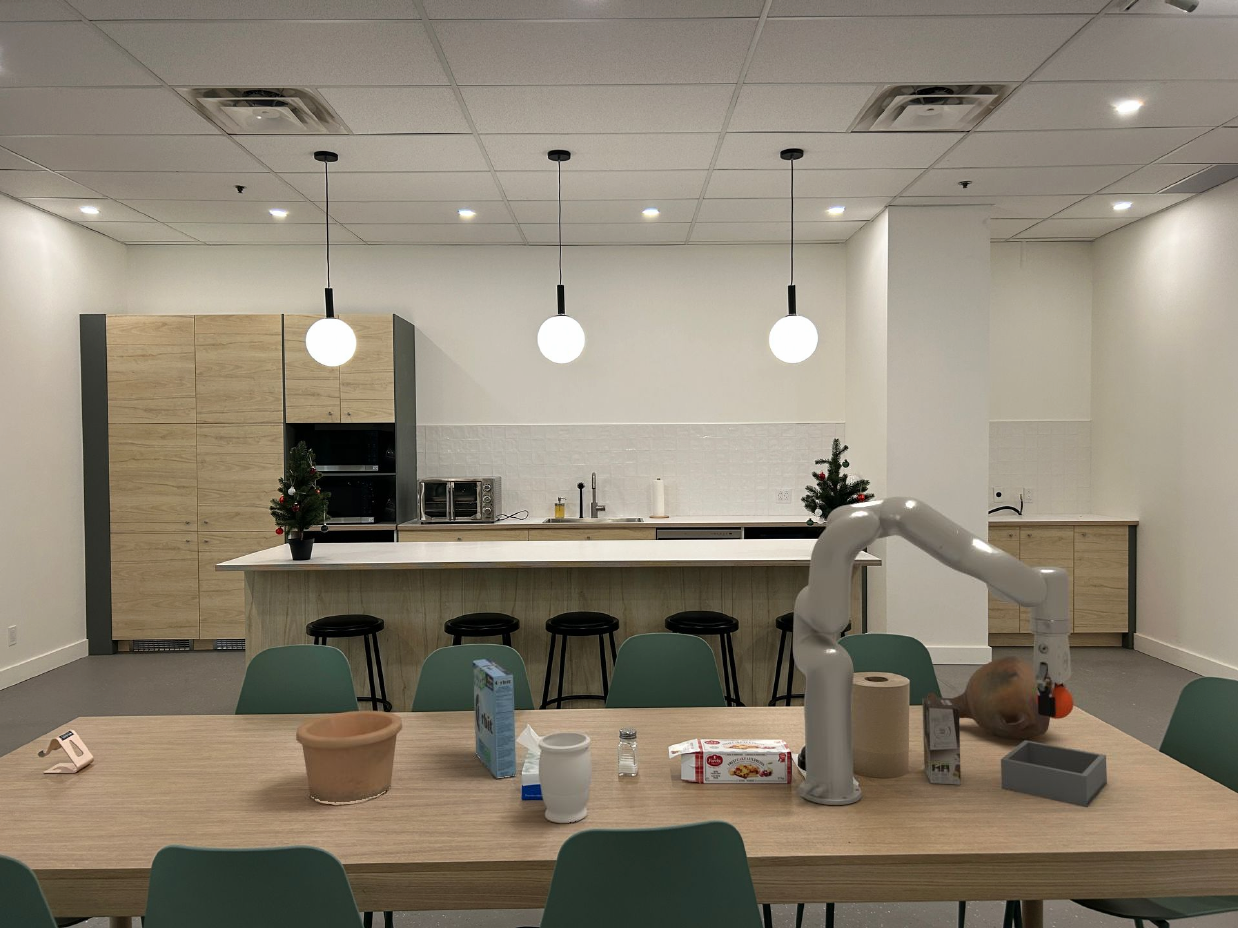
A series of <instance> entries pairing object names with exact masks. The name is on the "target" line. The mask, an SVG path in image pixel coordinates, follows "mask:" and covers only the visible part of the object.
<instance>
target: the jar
mask: <svg viewBox="0 0 1238 928" xmlns="http://www.w3.org/2000/svg"><path fill="white" fill-rule="evenodd" d="M537 742H538V748H539V749H540V754H539V760H538V778H539V779H538V780H539V784H540V790H541V795H542V800H543V803H544V805H545V808H547V809H546V810H545V812H544V817H545V818H546V820H548V821H549V822H552V823H557V824H570V822H571V823H575V821H576V822H579V821H581V820H583V819H585V818H586V817H587V815H588V809H587V807H586V805H587V803H588V799H589V795H590V791H591V790H590V788H591V782H592V769H593V767H592V758H591V753H590V749H589V747H590V745H591V743H592V740H591V737H590V735H587V734H584V733H581V732H573V731H569V732H568V731H565V732H562V731H561V732H554V733H551V734H547V735H544V736H542V737H540V738H539V739H538V741H537Z"/></svg>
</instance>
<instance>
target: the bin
mask: <svg viewBox="0 0 1238 928" xmlns="http://www.w3.org/2000/svg"><path fill="white" fill-rule="evenodd" d="M1000 776H1001V778H1000V779H1001V789H1004V790H1007V791H1008V790H1009V791H1012V792H1016V793H1021V794H1026V795H1030V796H1035V797H1040V798H1045V799H1049V800H1053V801H1057V802H1062V803H1066V804H1070V805H1074V806H1075V805H1076V806H1080V807H1085V808H1088V807H1089V806H1090V805H1091V803H1092V802H1093V801H1094V800H1095V798H1097V796H1098V795H1099V794H1100V793H1101V791H1102V790H1103V789H1104V788H1105V787H1106V785H1107V784H1108V778H1107V777H1108V775H1107V754H1103V753H1099V752H1097V753H1096V752H1091V751H1086V750H1082V749H1081V750H1080V749H1074V748H1071V747H1070V748H1069V747H1065V746H1064V747H1063V746H1060V745H1052V744H1048V743H1042V742H1041V743H1040V742H1038V741H1037V742H1036V741H1031V740H1027V739H1024V740H1023V741H1022V742H1020V743H1019V744H1018V745H1017V746H1016V747H1015V748H1013V749H1012V750H1011V751H1009V752H1008V753H1007V754H1006V755H1005V756H1003V757H1001V759H1000Z"/></svg>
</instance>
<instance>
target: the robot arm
mask: <svg viewBox="0 0 1238 928" xmlns="http://www.w3.org/2000/svg"><path fill="white" fill-rule="evenodd" d="M894 536H898V537H901V538H903V539H904V540H905V541H907V542H909V543H910V544H912V545H913V546H915V547H917V548H918V549H920V550H921V551H923V552H924V553H926V554H928V555H929V556H930V557H932V558H934V559H935V560H936V561H938V562H940V563H941V564H943V565H944V566H946V567H948V568H950V569H952V570H954V571H957V572H959V573H961V574H965V575H967V576H970V577H971V578H974V579H977V580H979V581H981V582H983V583H985V584H986V588H987V590H988V592H989V593H990V595H992V597H994V598H996V600H999V601H1002V602H1006V603H1008V604H1013V605H1016V606H1019V607H1022V608H1029V632H1030V634H1032V635H1034V636H1033V637H1034V638H1033V639H1034V640H1033V669H1034V677H1035V680H1036V681H1037V685H1038V686H1037V689H1038V692H1037V694H1038V714H1039V715H1043V716H1049V717H1055V716H1056V707H1055V697H1053V694H1054V685H1060V686H1062V687H1064V688H1065V689H1066V681H1067V680H1069V679H1070V678H1071V676H1072V664H1071V663H1072V662H1071V653H1070V652H1071V651H1070V640H1069V636H1070V635H1071V613H1070V606H1071V605H1070V585H1069V584H1070V583H1069V582H1070V580H1069V579H1070V578H1069V573H1068V571H1067V569H1065V568H1063V567H1058V566H1043V565H1042V566H1034V567H1030V566H1028V565H1027V564H1026V563H1024V562H1022V561H1021V560H1019V559H1018V558H1016V557H1015V556H1013V555H1011V554H1010V553H1008V552H1006V551H1004V550H1002V549H1000V548H999V547H997V546H995V545H992V544H991V543H990V542H988V541H986V540H984V539H983V538H981V537H979V536H977V535H976V534H973V533H972V532H970V531H968V530H967V529H965V528H964V527H962V526H961V525H959V524H958V523H956V522H955V521H952V520H951V518H948V517H947V516H945V514H944V515H943V513H941V512H940V511H938V510H936V509H935V508H934V507H932V506H930V505H929V504H927V503H925V502H924V501H922V500H920V499H918V498H915V497H910V496H909V497H908V496H892V497H886V498H881V499H876V500H870V501H864V502H859V503H852V504H851V503H850V504H846V505H841V506H838V507H837V508H835V509H832V511H831V512H830V513H829V514H828V516H827V518H826V523H825V529H824V530H823V532H822V533H821V534H820V535H819V537H818V538H817V539H816V542H815V544H814V545H813V548H812V552H811V556H810V563H809V573H808V585H806V586H805V587H803V588H802V589H801V590H800V591H799V592H798V595H797V597H796V599H795V603H794V609H793V626H792V627H793V629H792V631H793V632H792V634H793V635H792V653H793V660H794V663H795V666H796V667H797V668H798V670H799V671H800V672H801V673H802V674H803V675H804V676H805V690H804V703H803V704H804V707H803V708H804V709H803V710H804V712H803V713H804V738H805V740H804V741H805V746H804V747H805V780H804V781H802V782H801V783H800V784H799V786H798V787H797V795H799V797H801V798H804V799H805V800H808V801H810V802H812V803H815V804H821V805H826V806H827V805H829V806H840V805H841V806H843V805H844V806H845V805H850V804H854V803H855V802H858V801H859V800H860V799H861V798H862V795H863V794H862V789H861V787H859V785H858V784H855V783H854V755H853V753H854V751H853V750H854V749H853V745H854V744H853V719H852V718H853V716H852V711H853V710H852V697H853V695H852V694H853V686H854V676H855V671H854V664H853V661H852V660H853V659H852V658H851V655H850V654H849V653H848V651H847V650H846V649H845V648H844V647H843V646H842V645H841V644H839V643H837V635H838V634H840V633H842V632H843V631H844V630H845V629H846V627H848V624H849V622H850V618H851V593H852V592H851V589H852V585H851V583H852V572H853V566H854V563H855V561H856V558H857V556H858V555H859V554H860V553H861V552H862V551H863V550H864V549H866V548H867V547H869V546H871V545H872V544H874V543H875V541H876V540H878V539H883V538H884V539H885V538H889V537H894ZM1045 680H1048V681H1045ZM1046 685H1050V690H1049V688H1048V686H1046Z"/></svg>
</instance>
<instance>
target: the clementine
mask: <svg viewBox="0 0 1238 928" xmlns="http://www.w3.org/2000/svg"><path fill="white" fill-rule="evenodd" d="M1046 686H1048V688H1049V690H1050V685H1046ZM1035 689H1037V687H1036V688H1035ZM1035 689H1034V690H1035ZM1034 690H1033V691H1034ZM1033 691H1032V692H1033ZM1031 694H1032V693H1031ZM1053 697H1055V707H1056V716H1055V717H1050V719H1055V720H1056V719H1057V720H1058V719H1064V718H1066V717H1068V716H1069V715H1070V714H1071V713H1072V711H1073V708H1074V699H1073V696H1072V694H1071V692H1070V691H1068V689H1066V687H1065V688H1064V687H1062V686H1060V685H1054V694H1053ZM1036 701H1037V705H1038V694H1037V699H1036ZM1048 717H1049V716H1048Z"/></svg>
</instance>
